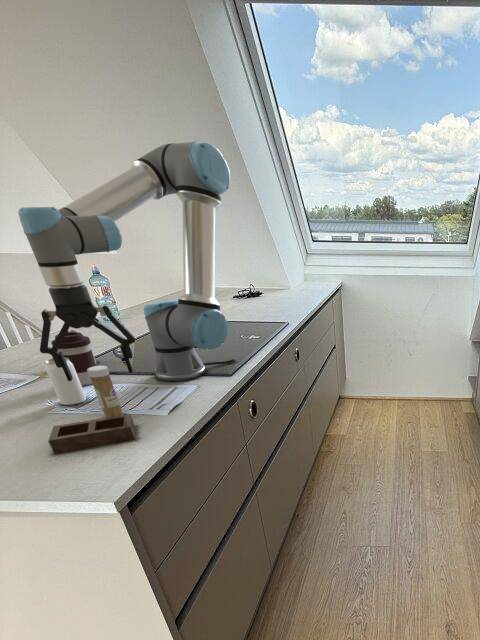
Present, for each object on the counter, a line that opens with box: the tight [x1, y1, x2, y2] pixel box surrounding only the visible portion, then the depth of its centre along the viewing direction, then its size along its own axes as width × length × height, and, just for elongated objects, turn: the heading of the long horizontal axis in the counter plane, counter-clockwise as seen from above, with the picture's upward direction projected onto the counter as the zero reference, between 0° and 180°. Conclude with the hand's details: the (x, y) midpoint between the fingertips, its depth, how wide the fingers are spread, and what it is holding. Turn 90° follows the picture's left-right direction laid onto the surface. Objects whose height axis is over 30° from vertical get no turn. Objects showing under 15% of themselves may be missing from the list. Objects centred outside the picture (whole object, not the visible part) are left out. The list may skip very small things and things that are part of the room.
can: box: [44, 358, 87, 406], centre depth 128 cm, size 6×6×12 cm
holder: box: [48, 413, 136, 455], centre depth 109 cm, size 16×9×4 cm, turn 117°
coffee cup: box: [50, 331, 97, 386], centre depth 141 cm, size 10×10×15 cm
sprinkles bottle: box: [87, 365, 125, 418], centre depth 118 cm, size 5×5×13 cm
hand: (101, 375), depth 116 cm, fingers open, 13 cm apart
